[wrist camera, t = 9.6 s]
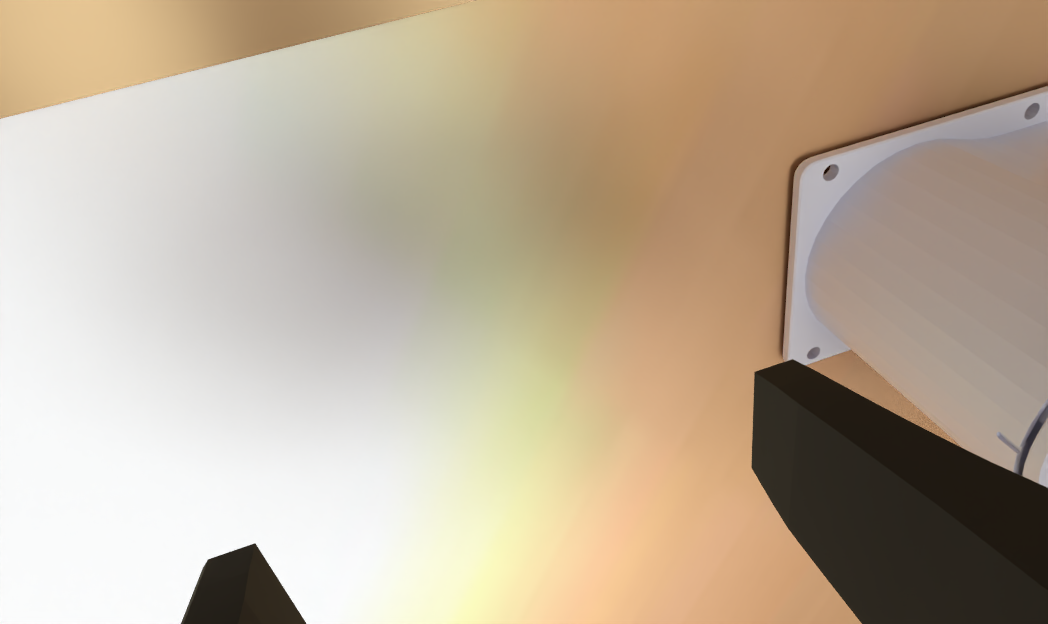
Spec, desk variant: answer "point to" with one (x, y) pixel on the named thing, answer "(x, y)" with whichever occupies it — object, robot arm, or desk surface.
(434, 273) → the desk surface
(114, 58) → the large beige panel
